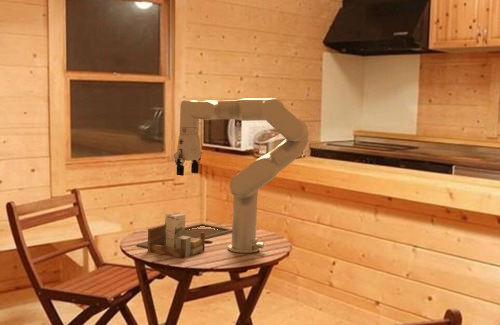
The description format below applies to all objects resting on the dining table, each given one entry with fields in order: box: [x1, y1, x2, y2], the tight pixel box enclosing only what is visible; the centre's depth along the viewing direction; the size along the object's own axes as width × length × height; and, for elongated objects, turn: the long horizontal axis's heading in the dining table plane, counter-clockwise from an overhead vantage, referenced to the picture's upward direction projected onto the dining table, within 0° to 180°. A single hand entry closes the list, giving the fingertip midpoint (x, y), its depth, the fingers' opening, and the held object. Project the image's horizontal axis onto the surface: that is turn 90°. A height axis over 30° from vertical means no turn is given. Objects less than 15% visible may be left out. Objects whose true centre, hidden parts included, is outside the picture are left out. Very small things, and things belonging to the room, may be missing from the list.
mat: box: [136, 240, 148, 249], centre depth 234 cm, size 7×7×1 cm
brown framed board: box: [185, 222, 232, 240], centre depth 259 cm, size 19×2×30 cm
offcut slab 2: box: [190, 246, 204, 256], centre depth 226 cm, size 5×6×2 cm
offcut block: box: [176, 236, 191, 258], centre depth 221 cm, size 4×4×7 cm
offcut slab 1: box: [191, 238, 202, 249], centre depth 226 cm, size 5×6×2 cm
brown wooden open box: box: [147, 223, 206, 259], centre depth 227 cm, size 16×16×9 cm
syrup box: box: [164, 212, 186, 248], centre depth 227 cm, size 6×6×14 cm
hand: (187, 174), depth 233 cm, fingers open, 9 cm apart
